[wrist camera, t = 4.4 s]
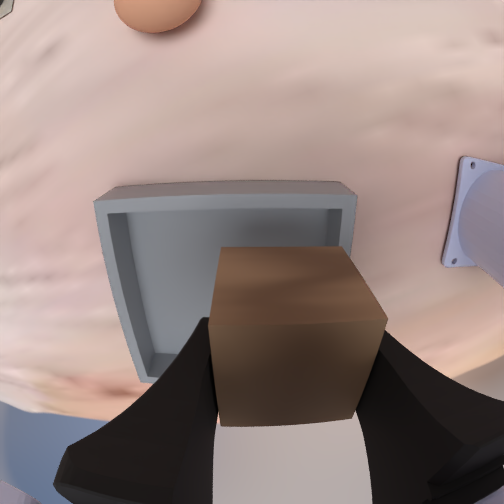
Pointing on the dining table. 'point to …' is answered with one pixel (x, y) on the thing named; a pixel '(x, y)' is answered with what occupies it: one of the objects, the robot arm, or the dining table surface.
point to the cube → (291, 335)
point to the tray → (201, 248)
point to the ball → (155, 13)
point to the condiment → (5, 7)
